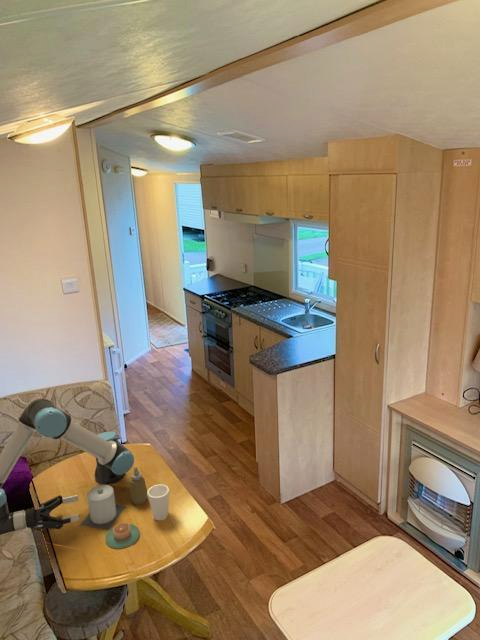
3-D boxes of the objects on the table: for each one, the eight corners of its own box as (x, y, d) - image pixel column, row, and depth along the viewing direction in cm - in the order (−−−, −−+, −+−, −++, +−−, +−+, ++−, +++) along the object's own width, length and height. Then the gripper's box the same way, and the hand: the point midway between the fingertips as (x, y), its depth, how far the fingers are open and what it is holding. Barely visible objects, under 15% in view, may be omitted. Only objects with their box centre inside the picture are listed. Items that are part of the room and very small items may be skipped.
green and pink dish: (116, 523, 215) (115, 514, 214) (145, 528, 211) (144, 519, 210) (99, 546, 202) (97, 536, 201) (129, 552, 199) (128, 542, 197)
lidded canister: (99, 505, 227) (95, 479, 223) (120, 509, 224) (117, 482, 219) (86, 521, 217) (81, 494, 212) (108, 525, 214) (104, 498, 209)
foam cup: (167, 524, 213) (164, 498, 210) (146, 522, 215) (144, 496, 211) (174, 509, 222) (171, 485, 218) (154, 507, 224) (152, 483, 220)
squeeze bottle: (136, 509, 224) (132, 475, 218) (127, 501, 229) (123, 467, 224) (151, 501, 229) (148, 467, 223) (142, 493, 234) (138, 460, 229)
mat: (99, 502, 229) (99, 501, 229) (126, 506, 226) (126, 506, 225) (79, 525, 215) (79, 524, 215) (108, 530, 211) (108, 530, 211)
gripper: (29, 508, 221) (78, 497, 227) (25, 546, 198) (80, 533, 205) (26, 494, 219) (76, 483, 225) (22, 530, 196) (78, 517, 202)
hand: (78, 507), depth 215 cm, fingers open, 13 cm apart
